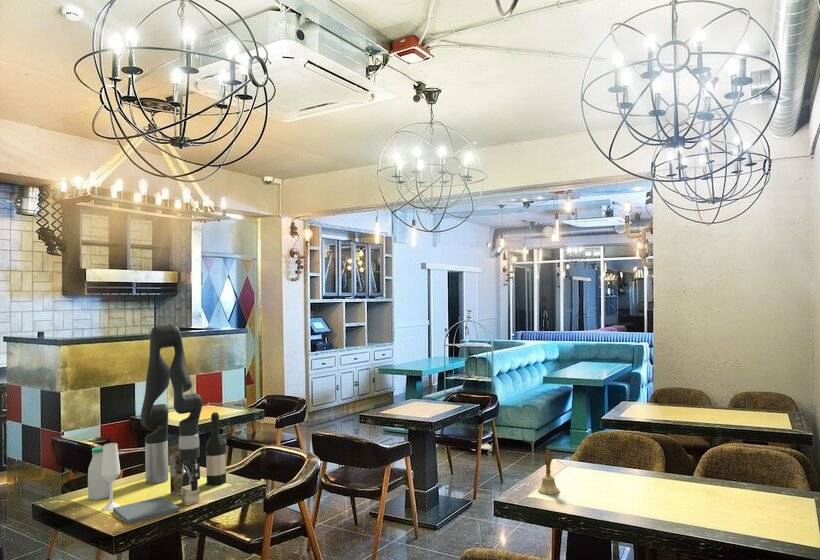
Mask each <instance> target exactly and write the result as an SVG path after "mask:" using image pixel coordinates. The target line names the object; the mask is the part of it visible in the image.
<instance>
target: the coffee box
mask: <svg viewBox="0 0 820 560" xmlns="http://www.w3.org/2000/svg"><path fill="white" fill-rule="evenodd" d="M195 461H196V464H198V458H197V459H196V460H195ZM169 473H170V474H169V475H170V477H169V478H170V496H181V487H184V486H183V477H182V474H180V459H179V451H175V452H173V453H172V454H170V455H169ZM198 481H199V479H198V480H197V486H198V487H199V482H198ZM189 485H191V478H190V476H189Z"/></svg>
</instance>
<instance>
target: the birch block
mask: <svg viewBox="0 0 820 560" xmlns="http://www.w3.org/2000/svg"><path fill="white" fill-rule="evenodd" d="M197 488H198V489H197V490H195V491H192V490H191V485H188V486H184V487H181V495H180V496H181V503H182V504H183V503H184V504H183V505H185V504H186V505H185V506H189V505H188V504H191V505H193V504H192V503H195V504H197V503H196V502H199V503H200V486H199V485H198V486H197Z"/></svg>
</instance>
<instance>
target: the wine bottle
mask: <svg viewBox="0 0 820 560" xmlns="http://www.w3.org/2000/svg"><path fill="white" fill-rule="evenodd" d="M218 412H219V411H217V412H215V411H214V412H212V414H210V420H211V422H210V423H211V424H210V425H211V426H210V427H211V428H210V429H211V431H210V432H211V435H210V436H209V438H208V439H207V442H206V443H205V456H206V457H205V458H206V460H205V461H206V464H205V465H206V468H205V469H206V485H207V486H209V485H212V486H211V487H214V486H215V485H217V486H222V485H224V484H226V483H227V474H226V473H227V468H226V466H227V465H226V464H227V463H226V461H227V459H226V442H225V440H224V439H223V437H222V435H221V433H220V414H219V413H218ZM221 484H222V485H221ZM215 487H216V486H215Z"/></svg>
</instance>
